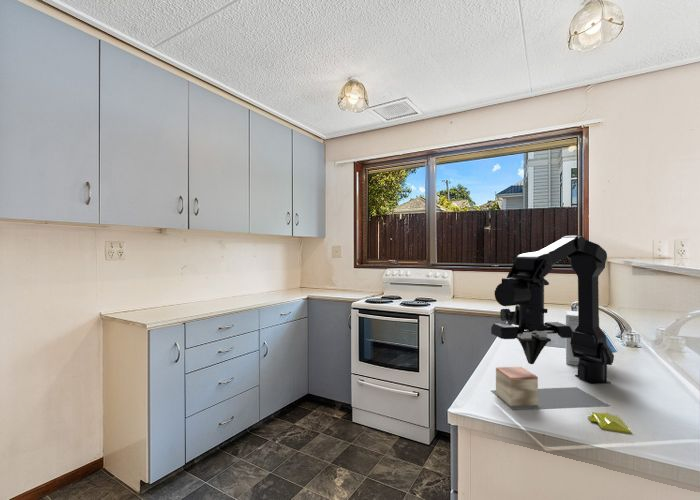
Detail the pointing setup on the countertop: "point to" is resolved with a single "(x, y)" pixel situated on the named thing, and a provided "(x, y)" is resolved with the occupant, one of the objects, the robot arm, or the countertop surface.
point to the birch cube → (516, 386)
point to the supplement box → (573, 323)
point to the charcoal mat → (560, 399)
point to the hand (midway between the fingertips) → (530, 363)
